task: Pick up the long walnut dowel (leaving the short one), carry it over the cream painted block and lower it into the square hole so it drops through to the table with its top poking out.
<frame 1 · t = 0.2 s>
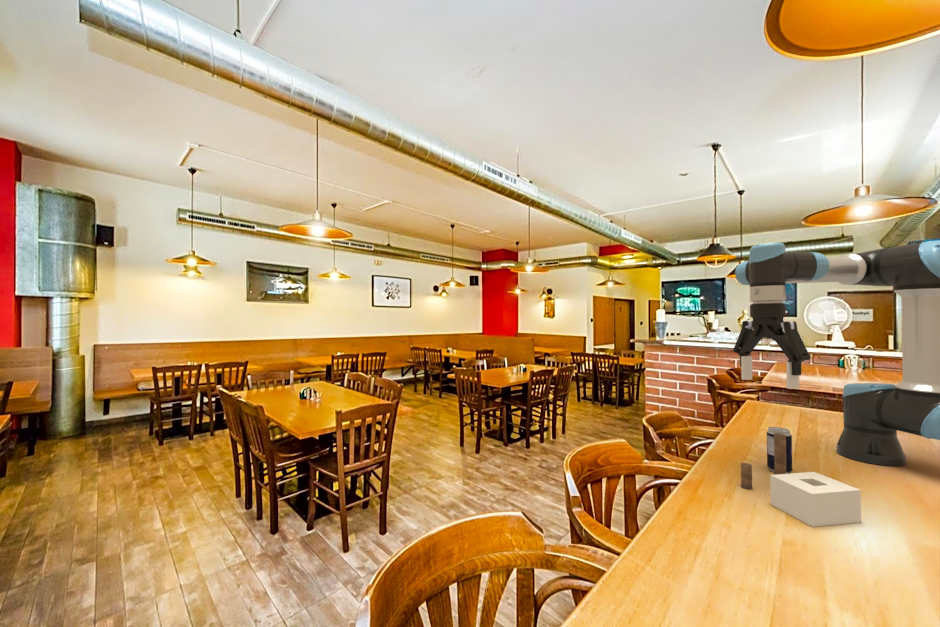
hand: (768, 383, 102), 27 cm above the table, fingers open, 13 cm apart
beverage can: (779, 471, 112), on the table
long pin: (780, 488, 101), on the table
hole block: (813, 512, 89), on the table
short pin: (746, 487, 102), on the table
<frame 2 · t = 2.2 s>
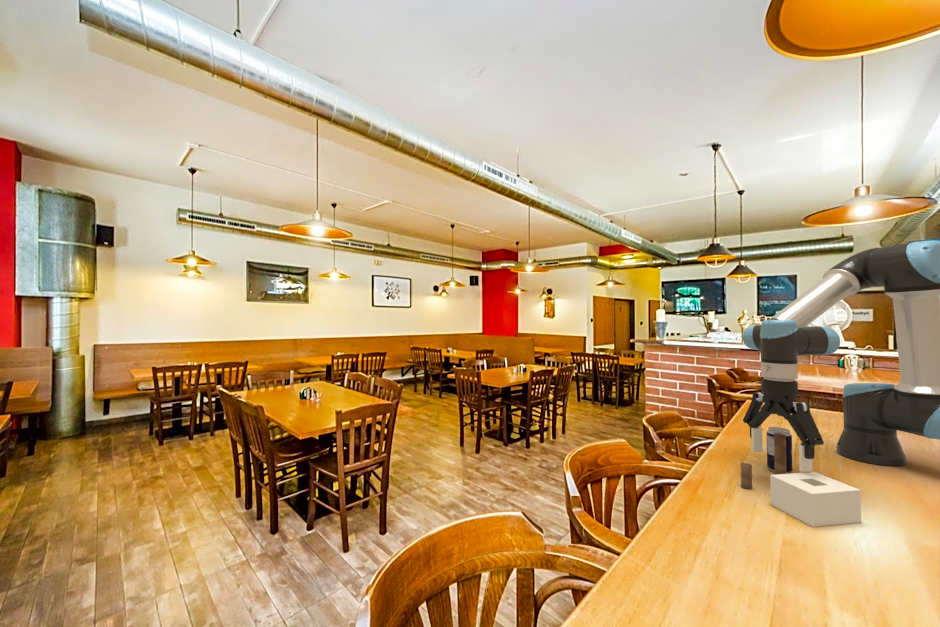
hand: (779, 460, 101), 7 cm above the table, fingers open, 13 cm apart
nothing on the table moved.
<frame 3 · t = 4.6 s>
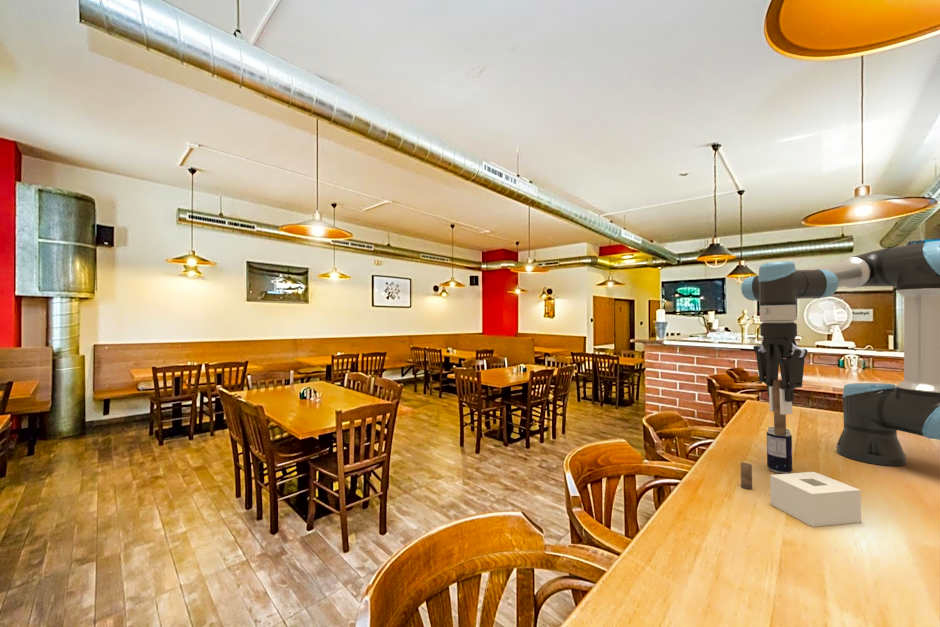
hand: (780, 412, 101), 20 cm above the table, fingers closed on long pin, 2 cm apart
long pin: (780, 434, 101), point 14 cm above the table, touching gripper
everything else where it was.
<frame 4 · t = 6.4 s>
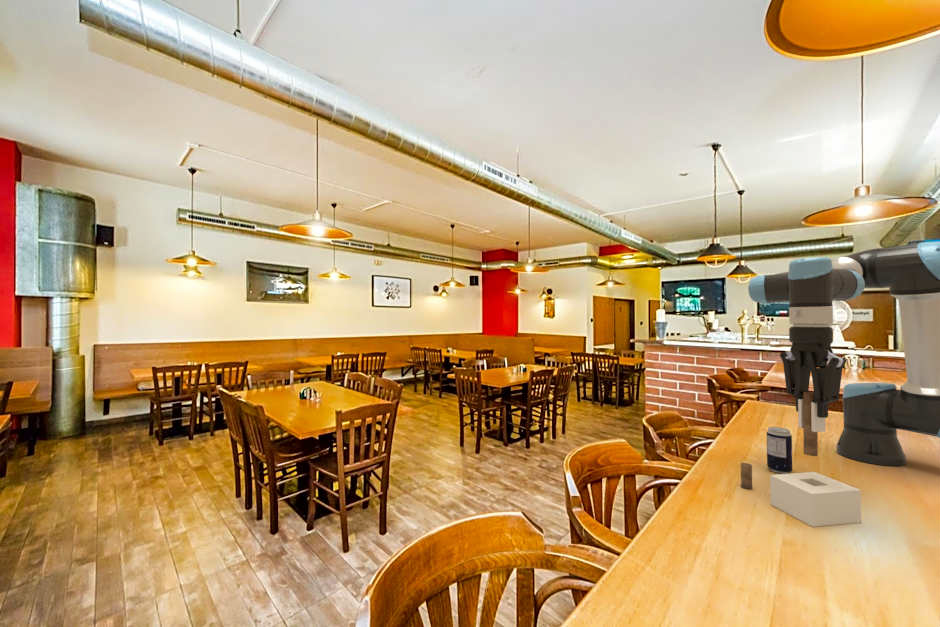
hand: (811, 429, 89), 19 cm above the table, fingers closed on long pin, 2 cm apart
long pin: (810, 454, 89), point 13 cm above the table, touching gripper
everything else where it was.
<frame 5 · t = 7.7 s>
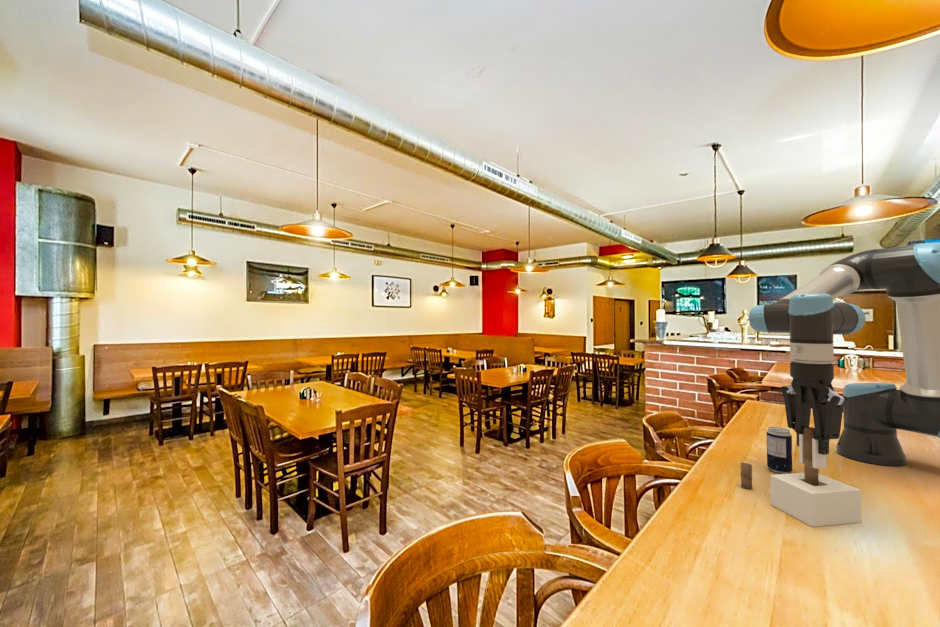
hand: (812, 464, 89), 11 cm above the table, fingers closed on long pin, 2 cm apart
long pin: (811, 490, 89), point 5 cm above the table, touching gripper
everything else where it was.
when the fingers open (9 cm above the table, at t = 8.8 s): long pin drops 4 cm, resting in hole block.
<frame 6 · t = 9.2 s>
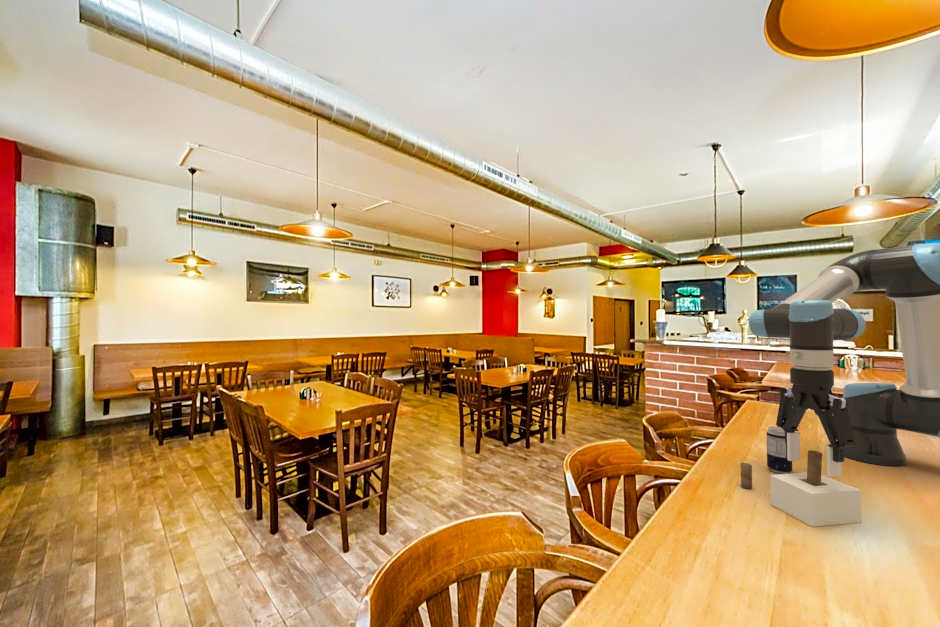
hand: (812, 467, 89), 10 cm above the table, fingers open, 8 cm apart
long pin: (812, 512, 89), resting in hole block
everything else where it was.
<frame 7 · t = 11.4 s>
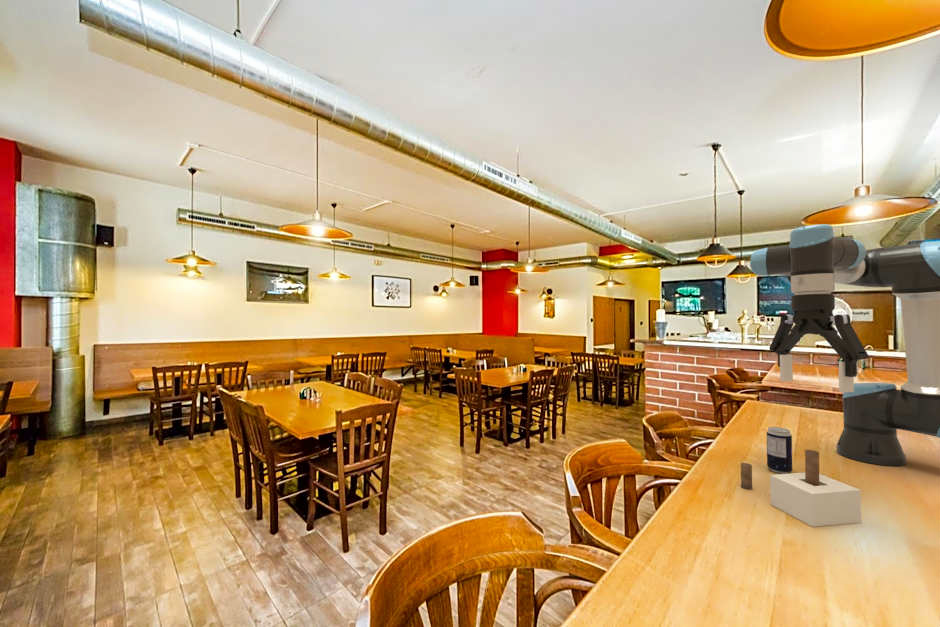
hand: (814, 386, 90), 29 cm above the table, fingers open, 13 cm apart
nothing on the table moved.
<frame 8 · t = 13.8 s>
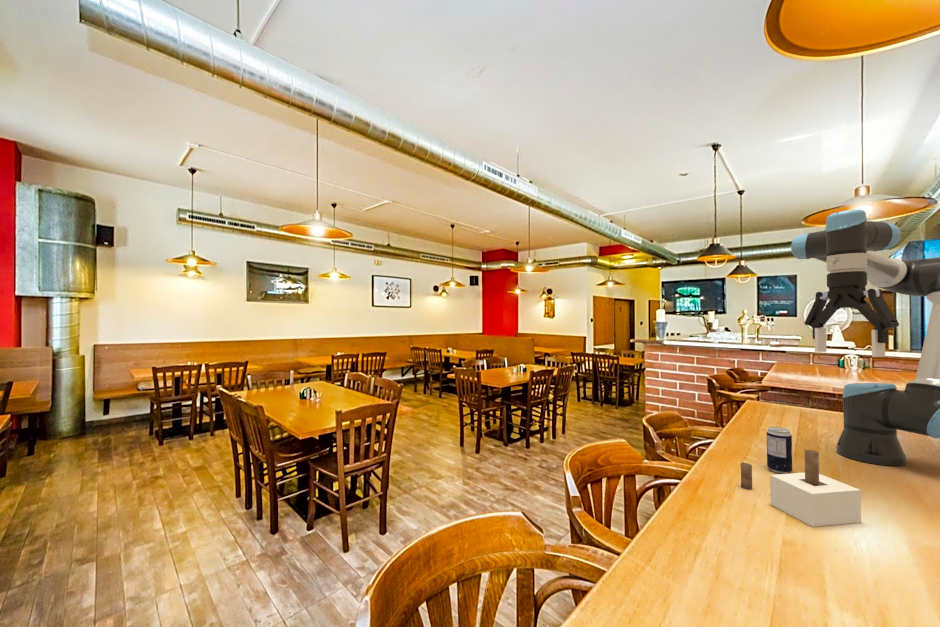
hand: (847, 354, 101), 35 cm above the table, fingers open, 13 cm apart
nothing on the table moved.
at the end: long pin 0.4 cm off-centre on the hole block, point 0.0 cm above the hole block's base; long pin tilted 0°; short pin moved 0.0 cm from its start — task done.
